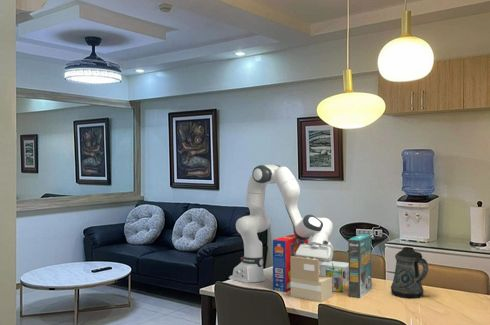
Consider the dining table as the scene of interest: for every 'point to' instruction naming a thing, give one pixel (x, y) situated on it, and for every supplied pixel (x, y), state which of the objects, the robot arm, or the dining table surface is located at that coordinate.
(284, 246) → the pasta box
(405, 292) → the beer stein
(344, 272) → the supplement box
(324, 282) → the carton
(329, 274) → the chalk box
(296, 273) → the flap
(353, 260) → the cake mix box
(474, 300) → the dining table surface
